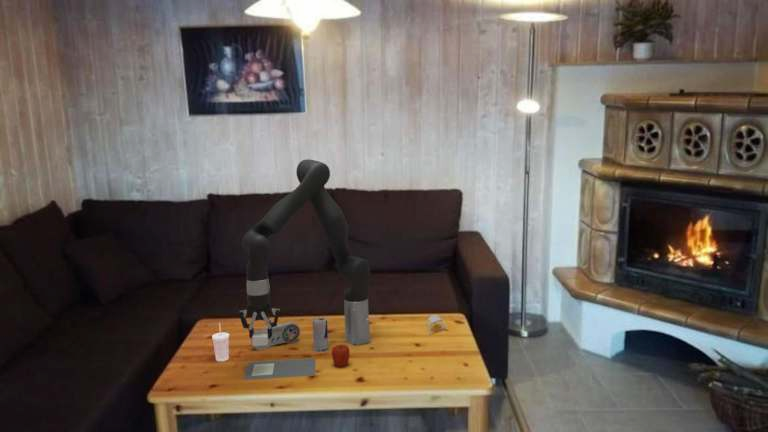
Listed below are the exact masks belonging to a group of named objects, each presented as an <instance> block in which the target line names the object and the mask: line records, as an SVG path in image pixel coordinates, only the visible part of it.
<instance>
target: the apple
mask: <svg viewBox="0 0 768 432" xmlns="http://www.w3.org/2000/svg"><path fill="white" fill-rule="evenodd" d="M331 357H332V361H333V364H334V366H335V367H337V368H342V367H346V366H347V365H348V362H349V359H350V348H349V346H348V345H346V344H339V345H335V346H333V347H332V348H331Z"/></svg>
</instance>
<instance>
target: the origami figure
mask: <svg viewBox="0 0 768 432" xmlns="http://www.w3.org/2000/svg"><path fill="white" fill-rule="evenodd" d="M428 322H429V323H430V326H429V325H428ZM439 322H441V324H442V326H441V327H439V328H440V330H442V332H445V330H443V329H444V328H446V327H448V326H447V324H446V323H445V322H444V321H443V318H441V317H440V316H438V315H437V314H433V315H431V316H430V317H429V318H427V320H426V322H425V326H427V331H428V332H429V335H432V333H433V332H432V331H431V328H432V326H433V325H436V326H438V324H437V323H439Z"/></svg>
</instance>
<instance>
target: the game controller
mask: <svg viewBox="0 0 768 432" xmlns="http://www.w3.org/2000/svg"><path fill="white" fill-rule="evenodd" d="M263 328H268V327H267V326H266V327H261V328H260V329H263ZM300 336H301V329H300V327H299V325H298V324H297V323H295V322H293V321H287V322H283V323H279V324H277V326H276V327H272V337H270V339H269V341H268V345H262V346H253V344H252V338H250V343H251V345H252V347H253V348H254V349H255V350H256V351H260V350H264V349H268V348H270V347H273V346H276V345H280V344H285V343H286V344H294V343H296V341H297V340H299V338H300Z"/></svg>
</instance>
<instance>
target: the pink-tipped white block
mask: <svg viewBox="0 0 768 432" xmlns="http://www.w3.org/2000/svg"><path fill="white" fill-rule="evenodd" d="M262 328H263V329H261V328H254V334H253V336H252V344H253V346H262V345H268V341H269V339H268V331H267V329H268V328H265V327H262ZM252 344H251V345H252ZM253 346H252V347H253Z"/></svg>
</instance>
